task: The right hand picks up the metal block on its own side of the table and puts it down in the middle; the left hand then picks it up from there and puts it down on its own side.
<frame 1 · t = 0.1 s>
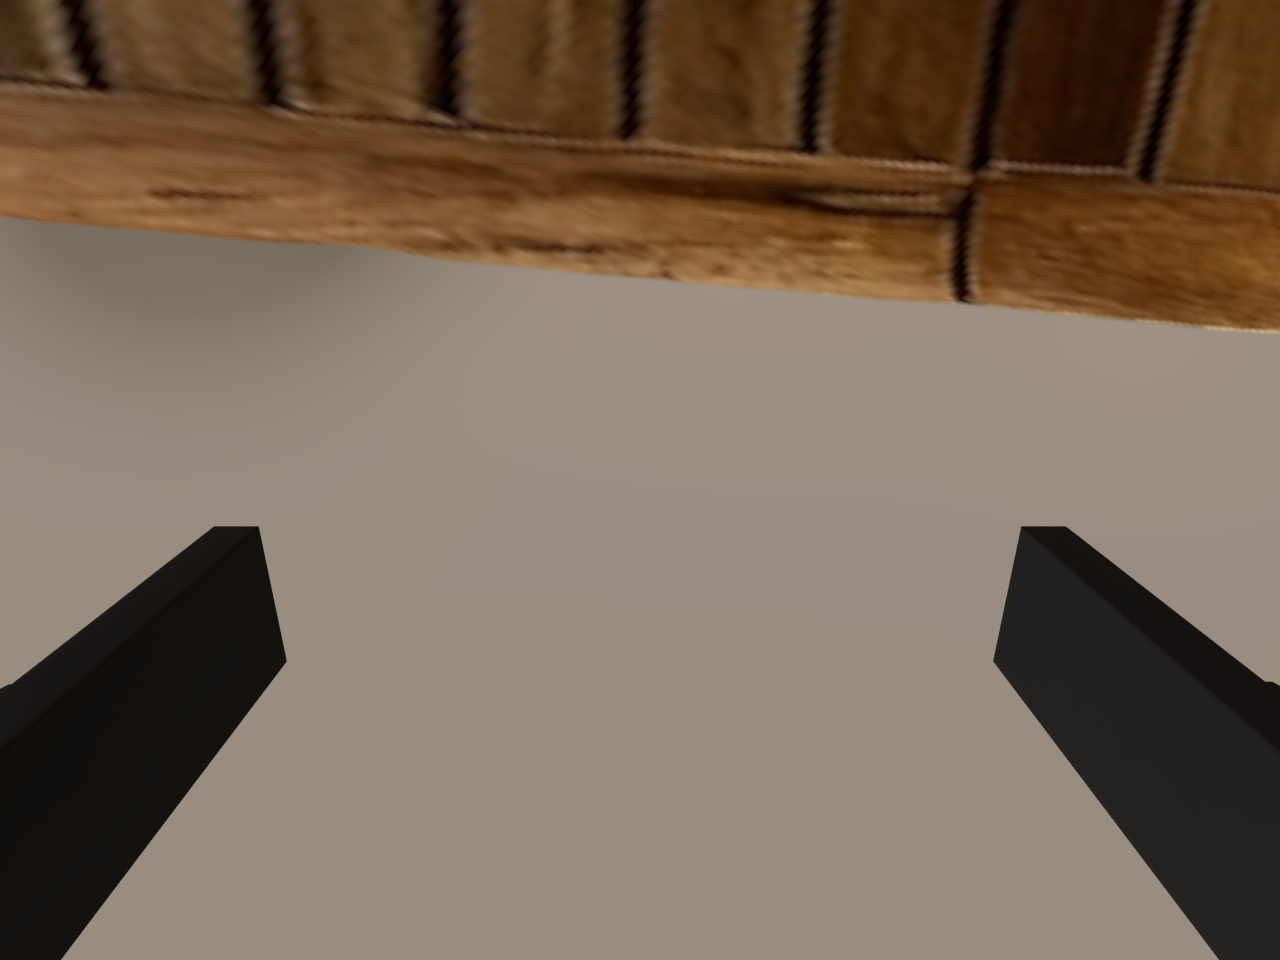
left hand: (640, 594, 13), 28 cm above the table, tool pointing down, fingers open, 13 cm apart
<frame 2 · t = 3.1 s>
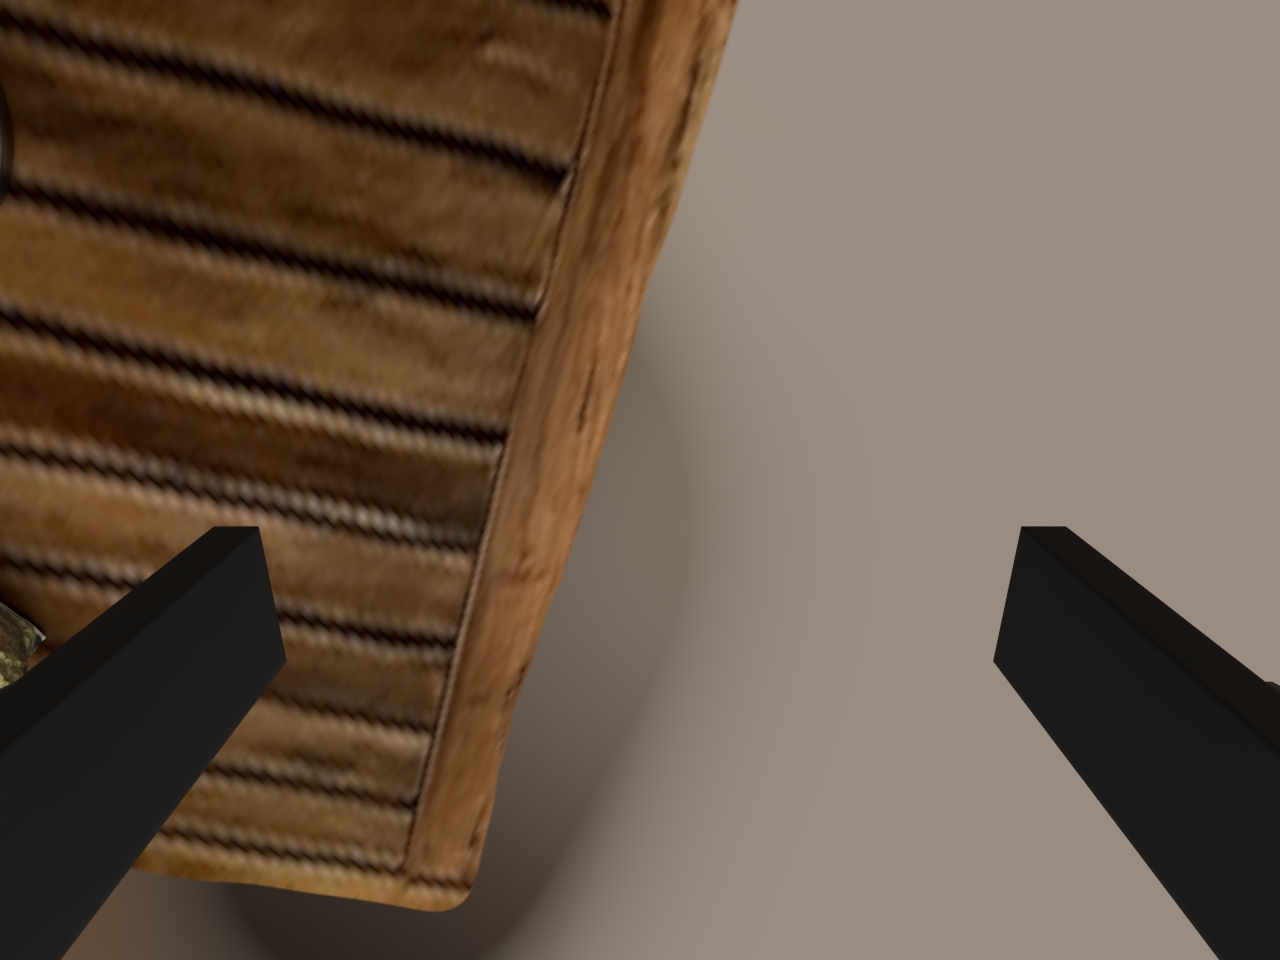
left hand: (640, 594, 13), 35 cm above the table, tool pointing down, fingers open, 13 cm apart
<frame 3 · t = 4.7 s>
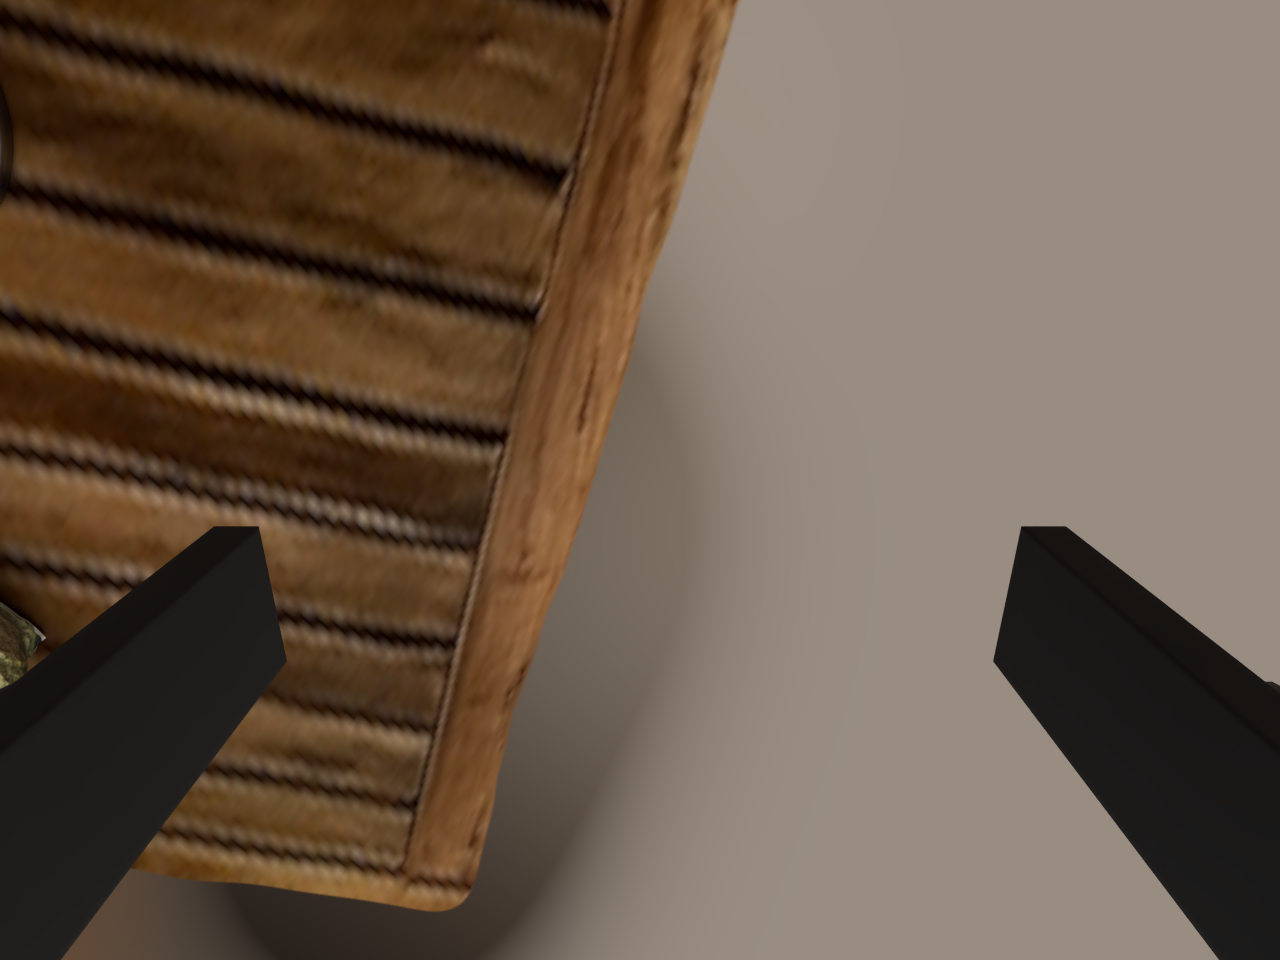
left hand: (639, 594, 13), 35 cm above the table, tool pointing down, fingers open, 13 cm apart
when the right hand's fingers open (2 cm above the table, at t = 6.6 s): block stays where it is, on the table.
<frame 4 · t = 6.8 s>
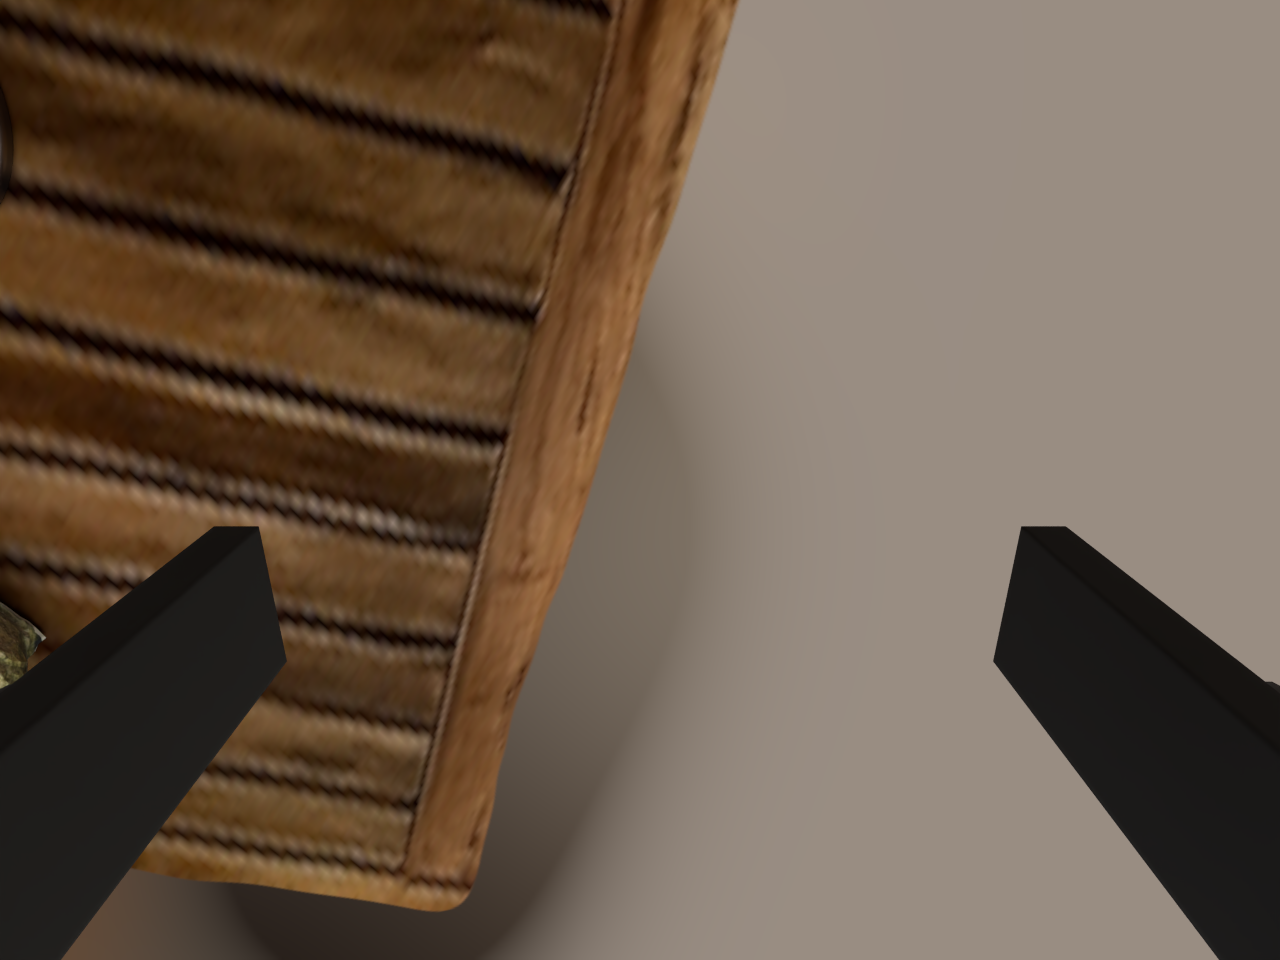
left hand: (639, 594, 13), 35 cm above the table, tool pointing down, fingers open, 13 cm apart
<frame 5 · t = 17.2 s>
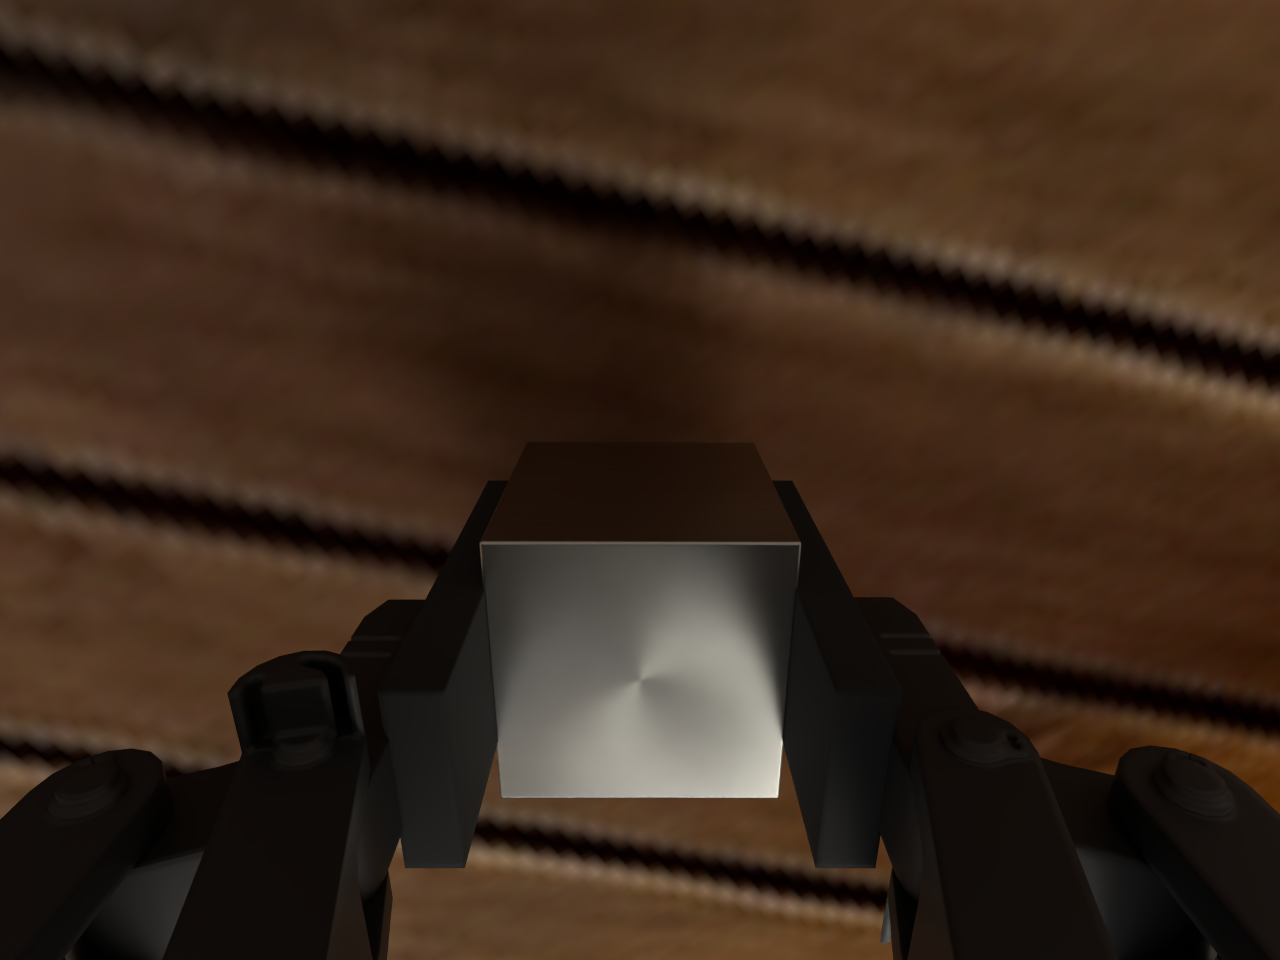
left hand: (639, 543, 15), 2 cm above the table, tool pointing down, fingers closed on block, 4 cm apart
block: (640, 546, 15), point 2 cm above the table, touching left hand
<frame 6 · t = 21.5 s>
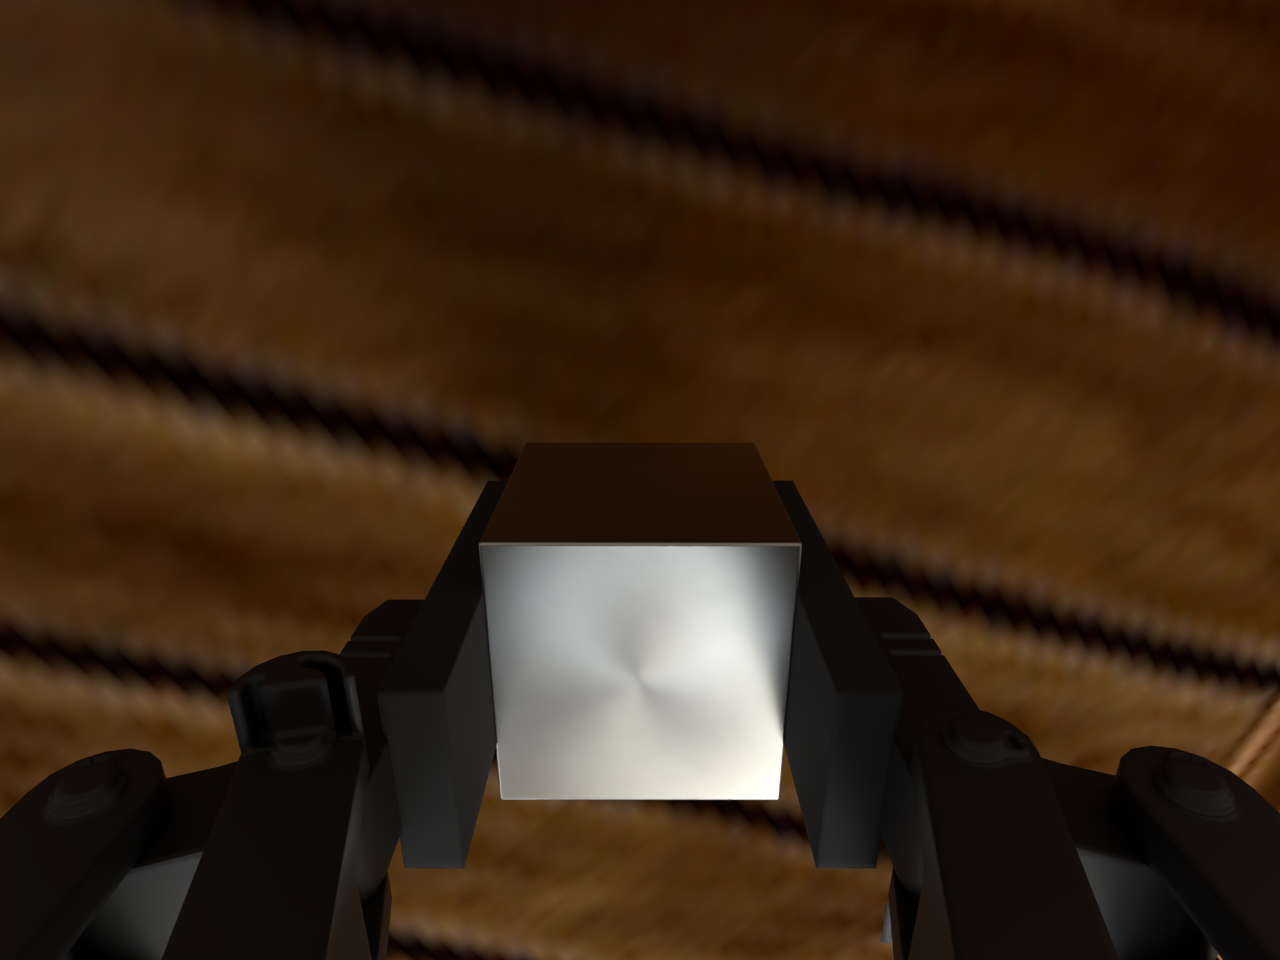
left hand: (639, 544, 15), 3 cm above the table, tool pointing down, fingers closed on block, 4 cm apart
block: (640, 547, 15), point 3 cm above the table, touching left hand
when the left hand's fingers open (1 cm above the table, at t = 26.0 s): block stays where it is, on the table.
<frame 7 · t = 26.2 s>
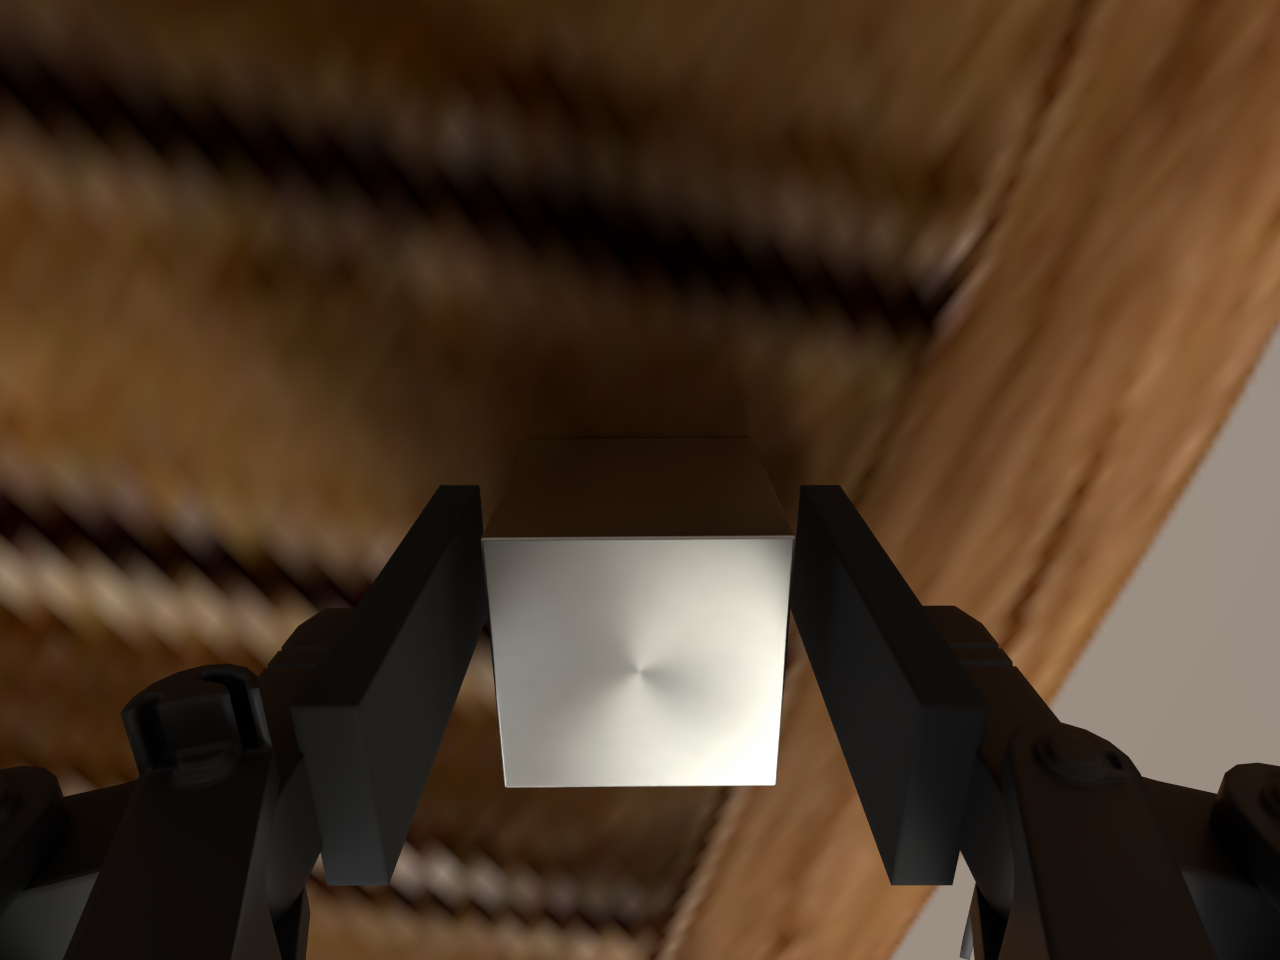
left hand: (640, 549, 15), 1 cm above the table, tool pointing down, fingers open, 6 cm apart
block: (639, 541, 15), on the table
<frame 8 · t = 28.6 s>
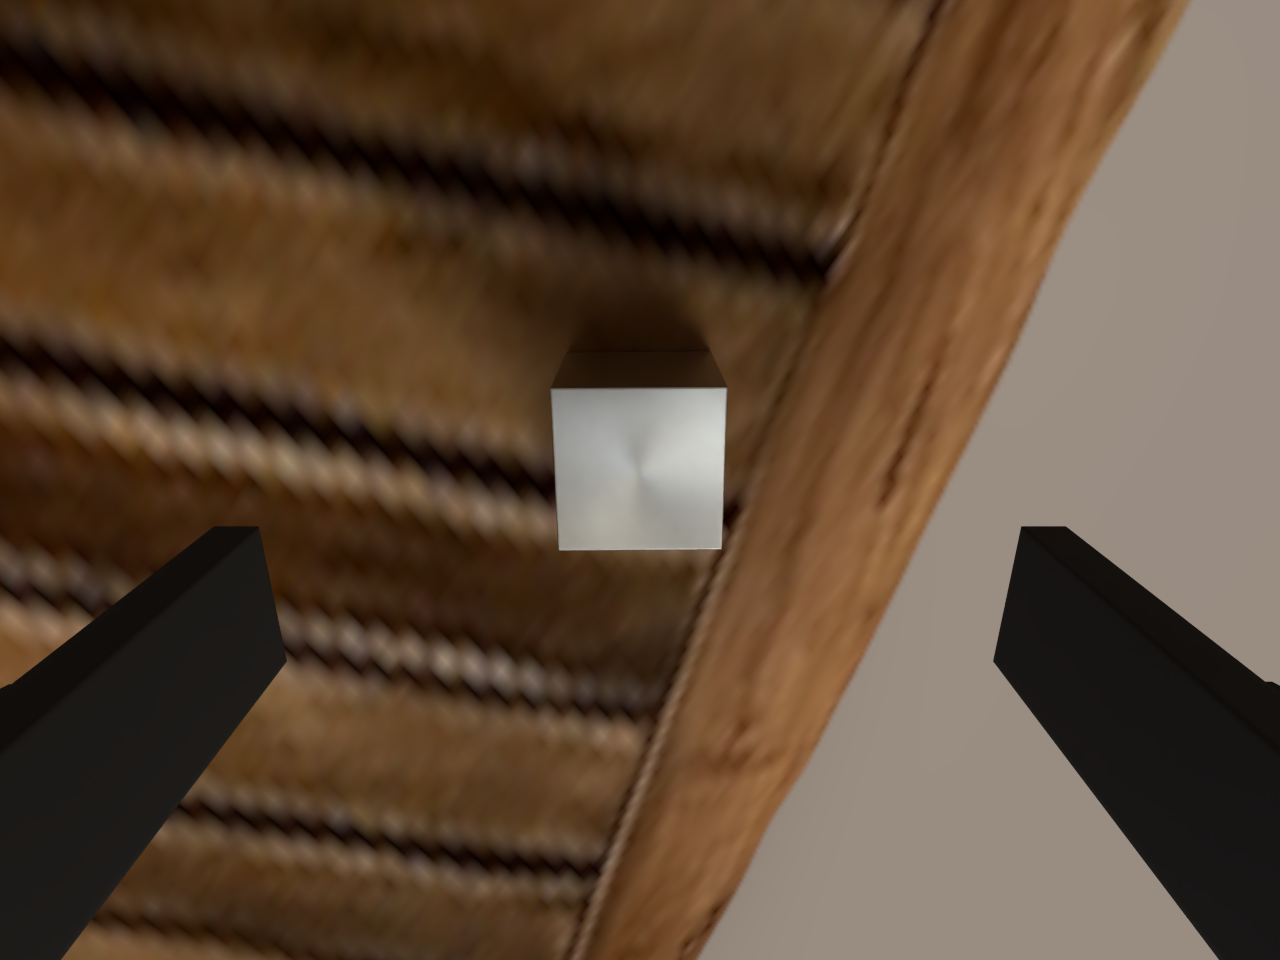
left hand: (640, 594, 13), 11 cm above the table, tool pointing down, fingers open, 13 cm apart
block: (639, 422, 23), on the table
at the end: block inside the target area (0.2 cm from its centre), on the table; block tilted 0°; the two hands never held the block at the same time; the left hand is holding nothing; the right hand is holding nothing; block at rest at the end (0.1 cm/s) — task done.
